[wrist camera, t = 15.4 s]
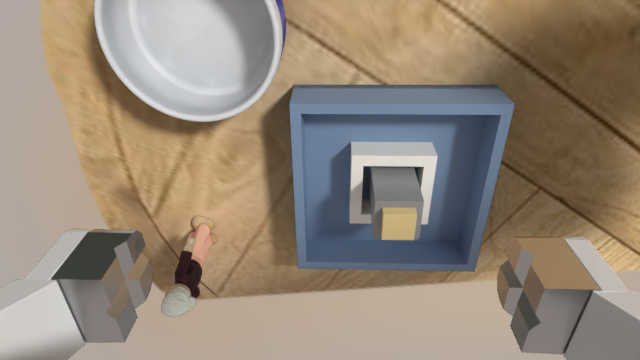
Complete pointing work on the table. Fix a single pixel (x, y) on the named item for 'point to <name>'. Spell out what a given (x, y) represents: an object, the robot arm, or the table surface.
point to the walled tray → (395, 150)
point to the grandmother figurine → (189, 269)
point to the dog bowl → (193, 52)
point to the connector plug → (395, 202)
